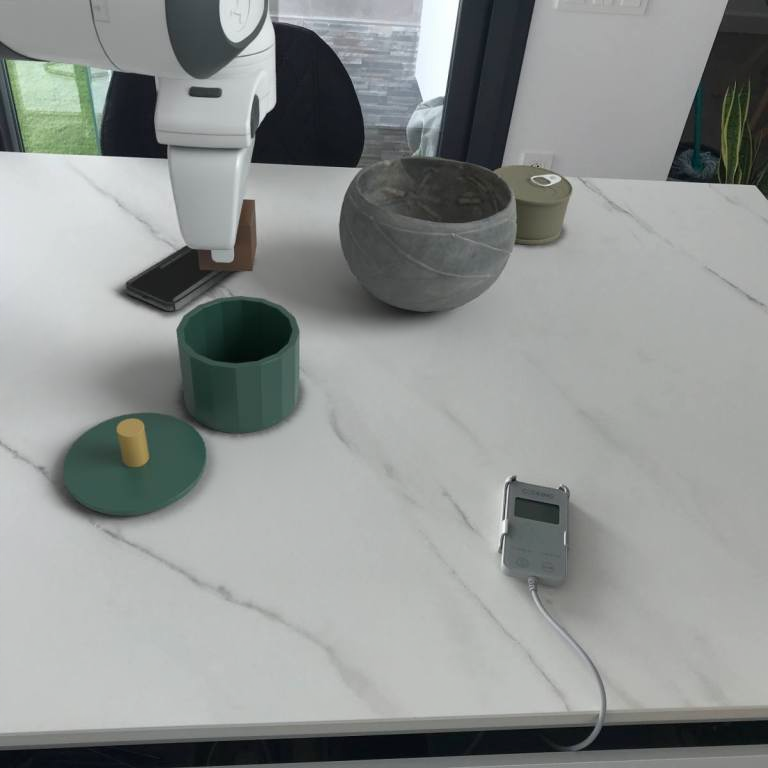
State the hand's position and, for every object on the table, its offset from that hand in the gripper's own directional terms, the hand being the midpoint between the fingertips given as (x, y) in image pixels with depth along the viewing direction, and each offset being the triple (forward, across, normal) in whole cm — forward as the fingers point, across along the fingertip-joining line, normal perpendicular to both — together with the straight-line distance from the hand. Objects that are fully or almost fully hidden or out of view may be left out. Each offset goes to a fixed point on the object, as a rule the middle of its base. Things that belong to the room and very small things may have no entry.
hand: (227, 240), depth 67 cm
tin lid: (+19, +8, -9) cm, 23 cm away
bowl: (+21, -23, +21) cm, 37 cm away
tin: (+20, -2, 0) cm, 20 cm away
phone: (+20, -25, -9) cm, 33 cm away
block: (+2, 0, 0) cm, 2 cm away
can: (+21, -43, +38) cm, 61 cm away
